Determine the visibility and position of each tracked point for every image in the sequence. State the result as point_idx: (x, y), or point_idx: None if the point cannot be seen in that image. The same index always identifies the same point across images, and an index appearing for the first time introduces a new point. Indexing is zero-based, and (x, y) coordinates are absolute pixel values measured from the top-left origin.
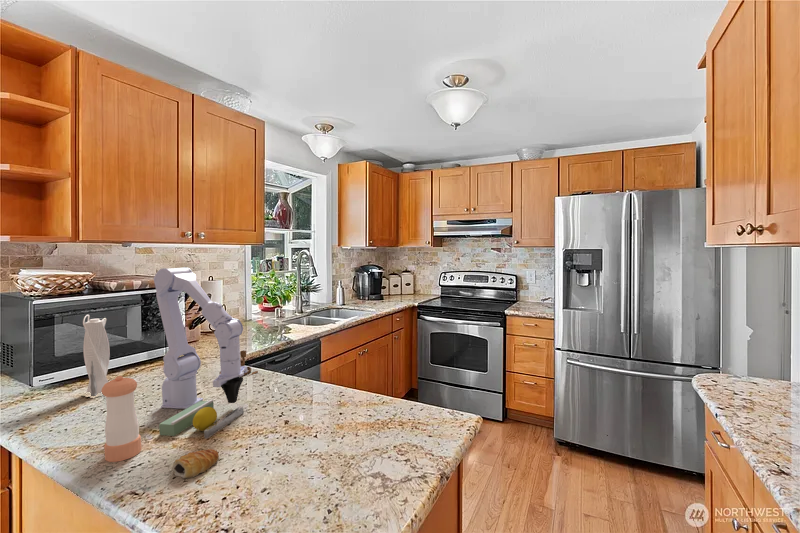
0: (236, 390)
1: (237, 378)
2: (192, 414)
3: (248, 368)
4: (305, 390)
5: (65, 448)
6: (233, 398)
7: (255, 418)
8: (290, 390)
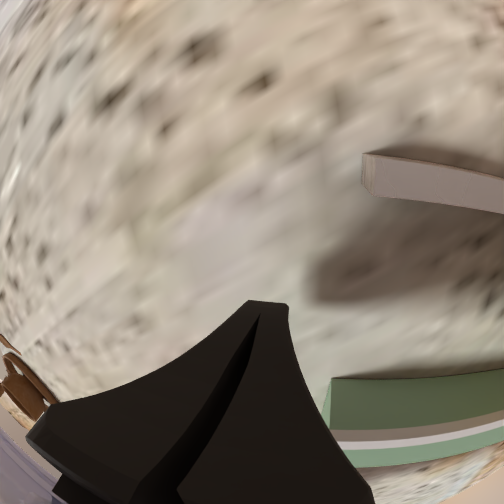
0: (225, 377)
1: (107, 501)
2: (496, 409)
3: (7, 362)
4: (9, 39)
5: (479, 476)
6: (289, 334)
7: (433, 14)
8: (5, 103)
